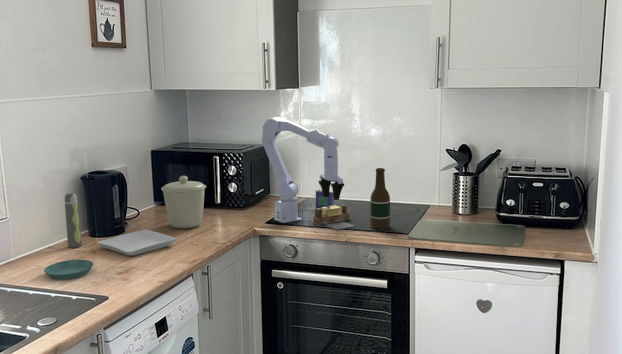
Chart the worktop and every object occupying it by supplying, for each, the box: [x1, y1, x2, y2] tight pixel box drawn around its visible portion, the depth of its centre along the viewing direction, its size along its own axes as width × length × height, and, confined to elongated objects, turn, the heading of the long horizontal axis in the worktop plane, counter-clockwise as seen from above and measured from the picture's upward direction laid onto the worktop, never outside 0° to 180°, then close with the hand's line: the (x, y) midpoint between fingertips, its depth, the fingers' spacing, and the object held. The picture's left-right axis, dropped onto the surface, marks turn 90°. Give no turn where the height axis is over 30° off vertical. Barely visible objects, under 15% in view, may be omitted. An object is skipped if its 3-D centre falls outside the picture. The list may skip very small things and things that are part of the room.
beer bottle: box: [369, 167, 391, 231], centre depth 242 cm, size 8×8×24 cm
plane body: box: [312, 204, 351, 226], centre depth 255 cm, size 16×4×6 cm, turn 122°
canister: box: [161, 175, 207, 230], centre depth 251 cm, size 18×18×21 cm
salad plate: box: [97, 228, 178, 257], centre depth 222 cm, size 21×21×3 cm
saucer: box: [43, 259, 94, 281], centre depth 194 cm, size 15×15×3 cm
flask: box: [315, 189, 335, 209], centre depth 275 cm, size 9×3×11 cm, turn 61°
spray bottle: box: [64, 193, 83, 249], centre depth 224 cm, size 5×5×20 cm
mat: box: [324, 221, 356, 231], centre depth 247 cm, size 9×9×1 cm
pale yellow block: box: [321, 204, 342, 217], centre depth 255 cm, size 7×5×4 cm
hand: (331, 198), depth 254 cm, fingers open, 7 cm apart
